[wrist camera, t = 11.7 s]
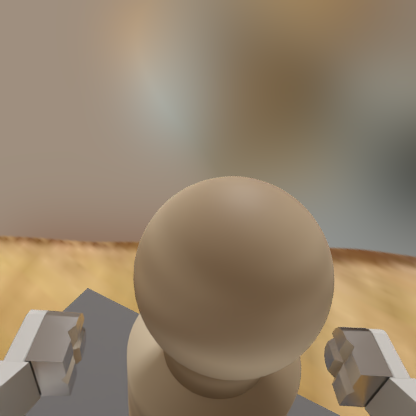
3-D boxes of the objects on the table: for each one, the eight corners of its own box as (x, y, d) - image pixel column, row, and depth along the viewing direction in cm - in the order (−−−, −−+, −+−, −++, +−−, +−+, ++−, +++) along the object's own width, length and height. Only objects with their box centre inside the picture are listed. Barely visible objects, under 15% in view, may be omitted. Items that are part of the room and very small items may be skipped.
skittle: (107, 501, 14) (58, 209, 5) (167, 394, 18) (195, 124, 9) (213, 578, 13) (375, 348, 4) (254, 444, 17) (383, 179, 8)
